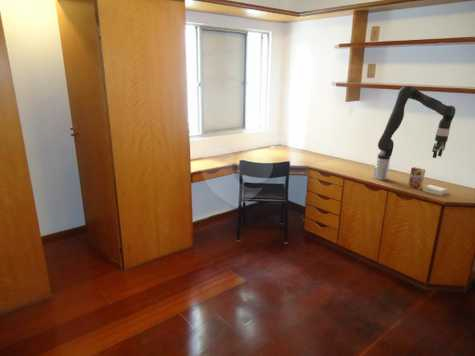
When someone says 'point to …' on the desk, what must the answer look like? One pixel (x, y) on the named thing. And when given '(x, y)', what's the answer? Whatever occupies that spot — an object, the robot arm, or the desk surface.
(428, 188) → the plinth
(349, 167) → the desk surface
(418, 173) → the candy box
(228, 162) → the desk surface
